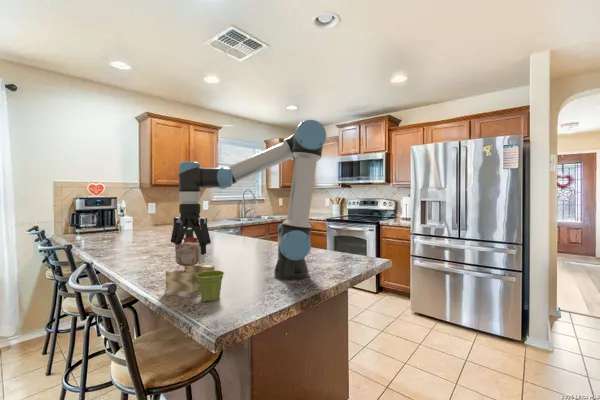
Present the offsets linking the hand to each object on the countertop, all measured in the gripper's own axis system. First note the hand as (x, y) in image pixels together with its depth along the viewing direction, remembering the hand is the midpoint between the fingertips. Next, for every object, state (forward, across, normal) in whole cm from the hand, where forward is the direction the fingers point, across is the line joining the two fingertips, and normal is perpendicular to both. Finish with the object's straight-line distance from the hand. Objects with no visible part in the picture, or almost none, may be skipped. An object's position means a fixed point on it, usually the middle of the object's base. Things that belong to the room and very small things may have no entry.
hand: (190, 262), depth 110 cm
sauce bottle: (+11, +21, -24) cm, 34 cm away
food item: (+1, 0, 0) cm, 1 cm away
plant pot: (+11, -13, +6) cm, 18 cm away
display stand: (+10, 0, 0) cm, 10 cm away
